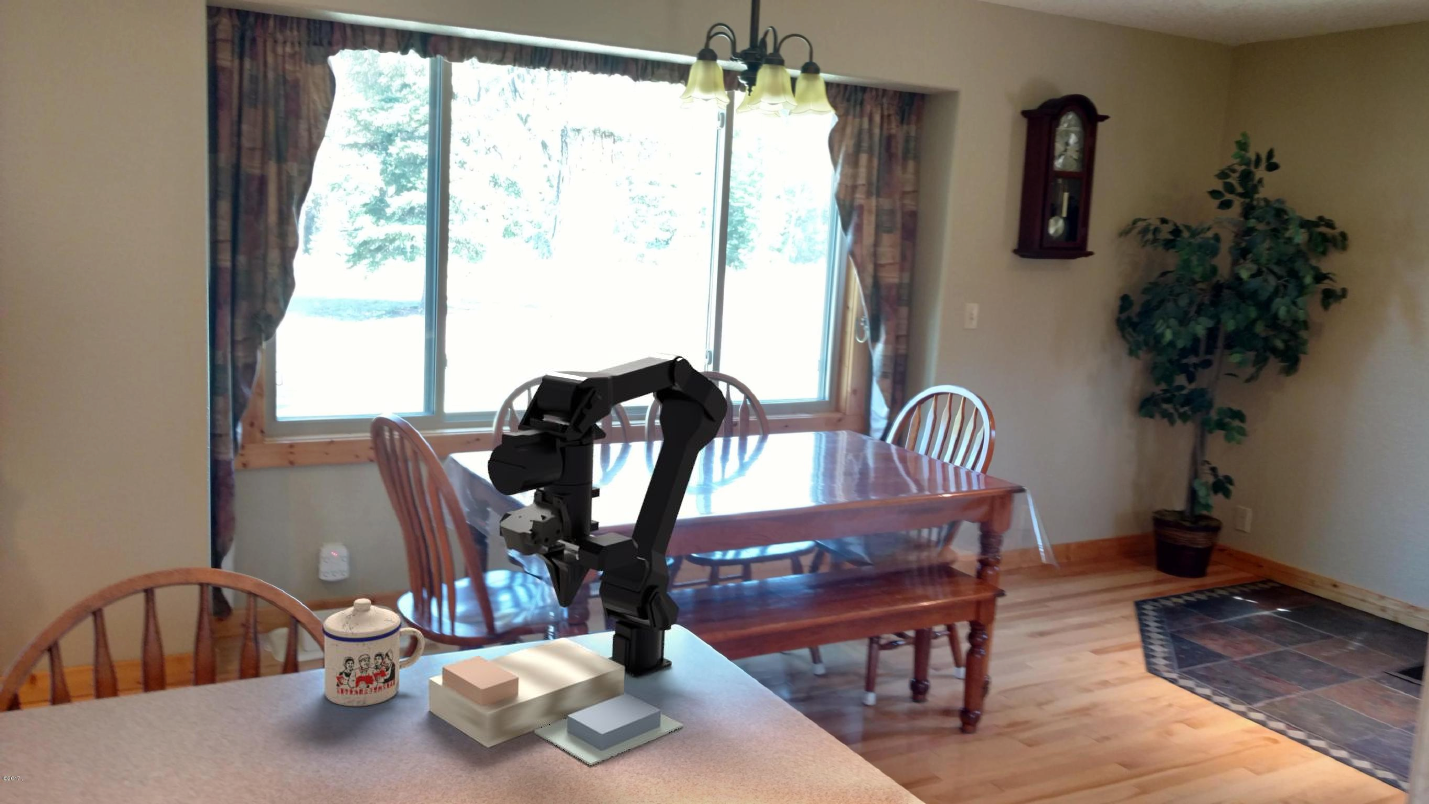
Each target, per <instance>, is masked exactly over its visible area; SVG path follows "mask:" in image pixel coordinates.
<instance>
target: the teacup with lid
mask: <svg viewBox="0 0 1429 804" xmlns="http://www.w3.org/2000/svg"><path fill="white" fill-rule="evenodd" d="M321 629H322V634H323V635H324V641H323V642H324V695H325V697H326V698H327V699H328V700H329V701H330V702H332V703H334V704H336V705H341V706H346V707H364V706H367V707H368V706H371V705H372V706H373V705H377V704H381V703H383V702H385V701H387V700H390V699H391V698H392V697H394V696H395V695H396V694H397V692H399V689H400V670H403V669H406V668H409V667H411V666H413V665H414V664H416V663H417V662H418V661H419V659H420V658H421V656H422V654H423V652H424V649H425V638H424V635H423V634H422V632H421V631H420V630H419V629H416V628H415V627H414V628H413V627H402V620H401V618H400V616H399V615H398V614H397V613H396V612H395V611H393V610H389V609H387V608H382V607H378V606H375V605H372V601H371V600H370V599H368V598H357V599H355V600H354V601H353V606H350V607H348V608H346V609H344V610H341V611H338V612H335V613H333V614H332V615H329V616H328V617H327V618H326V620H324V622H323V625H322V628H321ZM403 636H414V637H416V638H417V645H416V648H415V649H414V652H413V653H412V654H411V656H409V657H408V658H407V659H403V660H400V637H403Z"/></svg>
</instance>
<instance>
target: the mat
mask: <svg viewBox="0 0 1429 804" xmlns="http://www.w3.org/2000/svg"><path fill="white" fill-rule="evenodd" d="M681 727H682V728H683V727H684V724H682V723H681V722H678V721H676V720H675V719H673V718H670V717H668V716H667V715H664V714H663V713H661V720H660V727H658V728H655V729H653V730H651V731H648V732H646V733H643V734H641V735H639V736H636V737H634V738H631V739H629V740H627V741H624V742H622V743H620V744H617V745H615V746H612V747H610V748H608V749H605V750H603V751H600V750H599V749H597V748H595V747H593V746H591V745H590V744H588V743H586V742H584V741H583V740H581V739H579V738H577V737H575V736H574V735H572V734H570V733H568V732H567V718H566V719H563V720H560V721H558V722H555V723H552V724H550V725H547V726H544V727H542V728H539V729H536V730H534V734H536V735H538V736H539V737H541V738H542V739H544V740H546V741H547V740H548V741H547V742H549V741H550V742H549V743H551V742H552V743H553V744H552V743H551V744H552V745H554V746H556V745H557V746H558V748H559V747H560V748H559V749H561V750H563V749H564V750H565V751H564V750H563V751H564V752H566V751H567V752H566V753H568V752H569V753H570V754H569V753H568V754H569V755H571V756H573V757H574V756H575V757H574V758H576V757H577V758H576V759H578V758H579V759H581V760H582V761H581V760H580V761H581V762H583V761H584V762H583V763H584V764H586V763H588V764H589V765H588V764H587V765H588V766H590V765H592V764H594V765H596V764H595V763H597V762H599V763H601V762H603V761H602V760H604V761H606V760H608V759H611V758H612V757H611V756H613V757H615V756H618V755H619V754H618V753H620V754H622V753H621V752H623V753H625V752H626V751H625V750H627V751H629V750H628V749H630V750H632V749H634V748H636V747H639V746H642V745H644V744H646V743H649V742H650V741H653V740H655V739H657V738H661V737H662V736H665V735H668V734H670V733H671V731H672V732H674V730H675V729H677V730H679V729H681ZM678 728H679V729H678ZM675 731H676V730H675ZM669 732H670V733H669ZM648 741H649V742H648ZM557 746H556V747H557ZM624 751H625V752H624ZM617 754H618V755H617ZM610 757H611V758H610ZM607 758H608V759H607ZM579 759H578V760H579ZM605 759H606V760H605ZM597 764H598V763H597ZM592 766H593V765H592Z"/></svg>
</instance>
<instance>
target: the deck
mask: <svg viewBox="0 0 1429 804" xmlns="http://www.w3.org/2000/svg"><path fill="white" fill-rule="evenodd" d="M608 658H609V657H605V656H604V655H601V654H600V653H597V652H595V651H593V650H591V649H589V648H586V647H584V646H583V645H582V644H581V645H580V644H578V643H577V642H574V641H572V640H569V639H568V638H566V637H561V638H557V639H555V640H551V641H546V642H545V643H541V644H537V645H534V646H531V647H528V648H524V649H521V650H517V651H515V652H511V653H509V654H508V653H507V654H505V655H502V656H498V657H495V658H492V659H489V660H488V659H487V660H488V661H489V662H491V663H493V664H495V665H497V666H499V667H501V668H502V669H504V670H506V671H508V672H510V673H512V674H513V675H515V676H517V677H519V689H518V694H516V695H513V696H510V697H507V698H505V699H502V700H499V701H496V702H493V703H490V704H487V705H484V706H480V705H479V704H477V703H475V702H474V701H472V700H470V699H469V698H467V697H465V696H464V695H462V694H460V693H458V692H457V691H455V690H453V689H452V688H450V687H448V686H447V685H445V684H443V683H442V674H438V675H435V676H433V677H430V678H428V711H430V712H431V713H432V714H434V715H435V716H436V717H438V718H440V719H442V720H444V721H445V722H446V723H448V724H450V725H451V726H453V727H454V728H456V729H458V730H459V731H461V732H462V733H464V734H466V735H467V736H469V737H470V738H471V739H473V740H475V741H477V742H478V743H480V744H481V745H482V746H484V747H486V748H490V747H494V746H495V745H499V744H501V743H504V742H506V741H509V740H512V739H515V738H517V737H519V736H520V737H521V736H523V735H526V734H528V733H530V732H533V731H534V730H537V729H539V728H541V727H545V726H547V725H549V724H553V723H555V722H558V721H559V720H560V721H561V720H562V719H565V718H567V717H568V715H570V714H573V713H575V712H578V711H581V710H583V709H586V708H589V707H591V706H594V705H596V704H599V703H602V702H604V701H607V700H610V699H612V698H615V697H618V696H620V695H623V694H625V689H624V688H625V672H624V671H625V666H623V665H620V664H618V663H616V662H614V661H612V660H610V659H608Z"/></svg>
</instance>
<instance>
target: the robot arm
mask: <svg viewBox="0 0 1429 804" xmlns="http://www.w3.org/2000/svg"><path fill="white" fill-rule="evenodd" d="M649 394H650V395H651V394H652V397H653V398H654V399H655V401H656V402H657V403H658V405H659V406H660V407H661V409H660V413H659V418H658V420H659V424H660V430H661V435H662V438H663V441H662V444H661V446H660V447H661V448H660V451H659V454H658V457H657V458H656V462H655V465H654V468H653V470H652V475H651V477H650V481H649V482H648V485H647V489H646V491H645V495H644V497H643V501H642V503H641V507H640V510H639V513H638V516H637V519H636V521H635V525H634V527H633V530H632V533H631V536H630V537H629V536H625V535H622V534H619V533H617V532H613V531H612V532H607V533H604V534H599V535H594V534H591V533H592V532H596V531H599V530H600V529H599V526H600V525H599V524H600V522H599V521H597V520H594V519H592V517H593V516H592V515H593V513H592V511H593V509H592V508H593V499H594V498H595V499H596V498H600V495H601V493H600V491H601V488H599V487H596V486H594V485H593V479H594V448H595V447H594V446H595V441H598V440H604V439H605V438H606V437H607V432H605V430H603V429H602V428H601V427H600V426H598V424H597V423H599V422H600V421H602V420H604V419H606V418H607V417H608V416H609V415H610V414H611V412H612V410H613V408H614V407H615V406H618V405H619V404H621V403H622V404H623V403H625V402H629V401H632V400H635V399H639V398H640V397H644V396H646V395H649ZM727 412H728V401H727V399H726V397H725V396H724V393H723V391H722V390H721V388H719V387H718V386H717V385H716V384H715V382H713V380H711V379H709V378H708V377H707V376H705V375H704V374H703V373H701V372H699V371H698V370H696V369H695V368H694V367H693V366H692V364H691V362H690V361H689V360H688V359H687V358H684V357H683V356H682V355H677V354H676V355H675V354H670V353H669V354H668V353H663V352H662V353H661V352H656V353H654V354H651V355H649V356H648V357H643V358H641V359H637V360H634V361H630V362H627V363H623V364H618V365H616V366H612V367H609V368H605V369H601V370H598V371H572V370H565V371H564V370H563V371H562V370H561V371H560V370H559V371H558V370H557V371H556V370H555V371H550V372H548V373H545V375H544V376H542V377H541V383H540V384H539V385H538V387H537V388H536V390H535V393H534V394H533V397H532V399H531V401H530V402H529V404H528V407H527V409H526V410H525V412H524V414H523V416H522V418H521V420H520V422H519V424H518V426H517V430H518V432H514V431H513V432H512V431H509V432H503V433H502V434H501V444H499V445H496V447H495V448H494V449H493V450H492V452H491V453H490V455H489V459H488V460H487V466H486V467H487V473H488V477H489V481H490V482H491V484H492V486H493V487H494V488H495V490H496V491H497V492H498V493H499V494H502V495H504V496H514V495H519V494H521V493H527V492H530V491H533V490H535V491H534V492H533V501H532V503H531V504H529V505H526V506H524V507H522V508H520V509H515V510H512V511H508V512H507V511H506V512H505V513H504V515H502V517H501V519H500V520H499V536H500V537H503V539H504V543H505V546H506V548H507V549H508V550H510V551H512V550H513V551H516V552H519V553H520V554H521V555H523V556H534V555H536V556H537V557H538V558H539V559H541V560H542V561H543V562H544V565H545V566H546V569H547V571H548V574H549V577H550V580H551V583H552V587H553V589H554V593H555V595H556V598H557V602H558V605H559V606H560V607H562V608H569V607H571V606H572V603H573V602H574V599H575V597H576V595H578V592H579V590H580V588H581V586H582V585H583V582H584V581H585V578H586V577H587V575H588V573H589V571H590V570H594V571H596V572H602V573H601V575H600V576H599V578H598V580H599V581H600V583H599V586H598V588H599V589H598V595H599V596H600V600H601V605H602V608H603V612H604V617H605V618H608V619H614V620H616V621H615V622H614V625H615V626H614V634H612V647H611V649H612V650H611V656H610V657H607V658H608V659H610V660H612V661H614V662H616V663H618V664H620V665H623V666H625V671H624V673H625V674H628V675H630V676H632V677H634V678H641V677H643V676H647V675H649V674H653V673H654V672H657V671H658V672H659V671H661V670H663V669H665V668H668V667H671V666H672V663H673V662H672V660H669V659H668V658H665V641H666V640H665V639H666V638H665V637H666V635H665V634H666V631H670V630H672V626H674V625H676V623H677V621H678V616H679V612H680V607H679V605H677V603H676V602H675V601H674V600H673V598H672V597H671V596H670V595H669V593H668V588H669V584H670V583H669V582H670V579H671V578H670V572H669V568H668V567H669V566H668V563H667V559H666V558H667V557H666V553H667V549H668V546H669V543H670V540H671V537H672V534H673V531H674V529H675V525H676V522H677V520H678V519H677V518H678V516H679V514H680V513H679V512H680V510H681V507H682V505H683V500H684V498H685V494H686V492H687V489H688V487H689V482H690V480H691V476H692V473H693V471H694V468H695V464H696V461H697V458H698V455H699V453H700V451H702V450H703V449H704V448H706V446H707V445H708V444H710V443H711V442H712V441H713V440H714V439H715V438H716V437H717V435H718V432H719V430H720V428H721V425H722V424H723V422H724V420H725V419H724V418H725V417H726V415H727ZM544 419H546V420H544ZM564 423H566V424H564Z"/></svg>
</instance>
